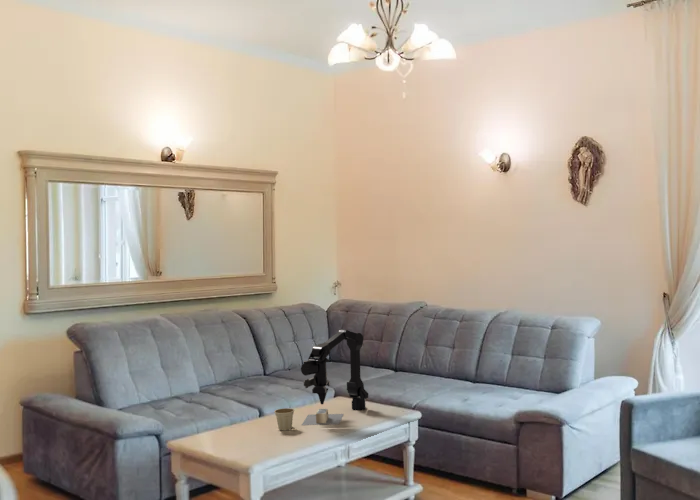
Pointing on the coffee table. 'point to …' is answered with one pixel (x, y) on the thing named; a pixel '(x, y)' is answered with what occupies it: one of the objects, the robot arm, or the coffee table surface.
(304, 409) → the coffee table surface
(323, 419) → the birch block
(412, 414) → the coffee table surface
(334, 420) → the mat
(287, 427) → the flower pot
